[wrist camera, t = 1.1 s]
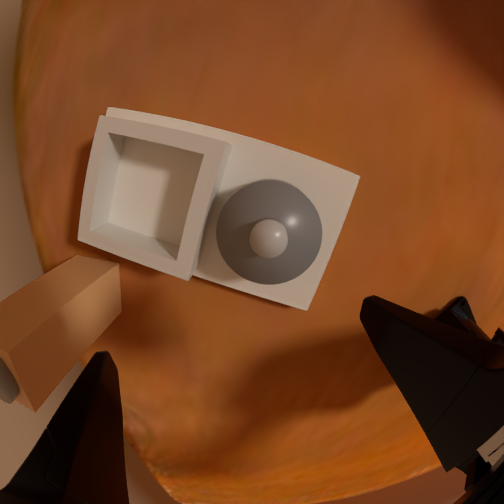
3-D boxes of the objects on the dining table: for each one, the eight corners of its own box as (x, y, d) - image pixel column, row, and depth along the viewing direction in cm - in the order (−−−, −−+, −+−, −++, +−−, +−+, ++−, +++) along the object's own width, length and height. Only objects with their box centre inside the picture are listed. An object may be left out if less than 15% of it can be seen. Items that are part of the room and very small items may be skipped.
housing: (355, 175, 18) (379, 179, 14) (305, 303, 21) (312, 338, 17) (116, 108, 18) (80, 100, 13) (91, 231, 21) (56, 248, 16)
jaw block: (119, 263, 22) (-2, 361, 8) (122, 311, 23) (28, 421, 10) (77, 254, 22) (-41, 331, 9) (82, 300, 23) (-15, 390, 10)
